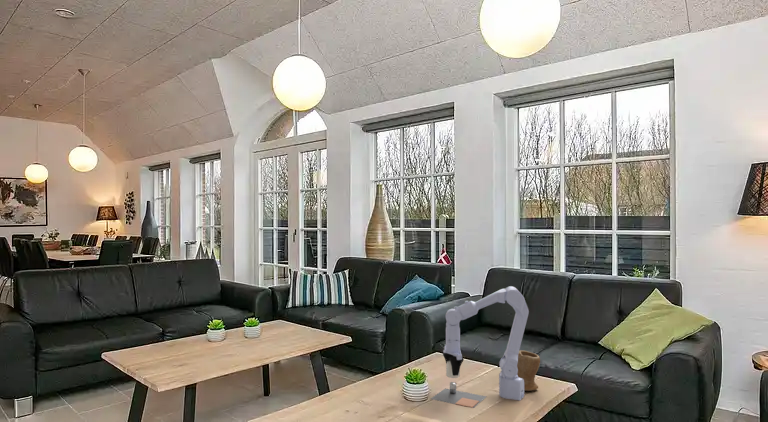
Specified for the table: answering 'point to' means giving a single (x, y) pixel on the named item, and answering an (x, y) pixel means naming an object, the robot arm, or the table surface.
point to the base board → (456, 396)
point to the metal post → (452, 388)
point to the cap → (450, 371)
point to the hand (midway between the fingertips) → (452, 373)
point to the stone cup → (528, 368)
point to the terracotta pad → (467, 402)
